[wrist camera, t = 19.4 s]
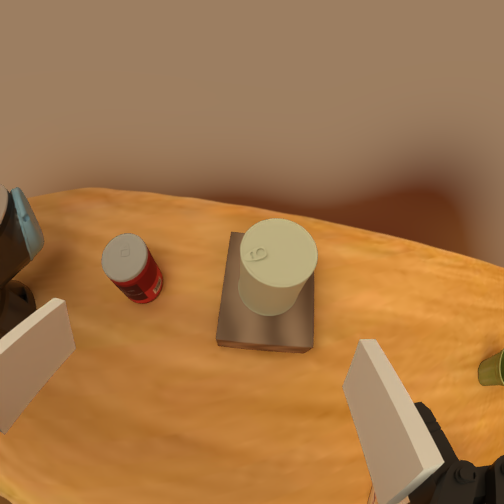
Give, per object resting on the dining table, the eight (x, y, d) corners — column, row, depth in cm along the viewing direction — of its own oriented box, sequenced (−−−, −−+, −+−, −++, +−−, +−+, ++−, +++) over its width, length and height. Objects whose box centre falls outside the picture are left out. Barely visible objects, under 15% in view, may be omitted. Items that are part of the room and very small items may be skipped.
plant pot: (485, 400, 36) (511, 395, 29) (467, 378, 39) (495, 371, 32) (498, 368, 40) (523, 360, 32) (482, 346, 43) (507, 335, 35)
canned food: (156, 258, 50) (140, 225, 40) (169, 295, 46) (153, 268, 37) (120, 273, 48) (97, 243, 38) (131, 310, 45) (106, 287, 35)
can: (231, 267, 43) (230, 224, 32) (286, 254, 45) (301, 209, 34) (248, 323, 39) (253, 296, 28) (306, 306, 41) (331, 273, 30)
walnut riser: (218, 345, 43) (215, 339, 38) (231, 249, 52) (231, 231, 46) (303, 353, 43) (313, 347, 38) (305, 257, 52) (313, 240, 46)
